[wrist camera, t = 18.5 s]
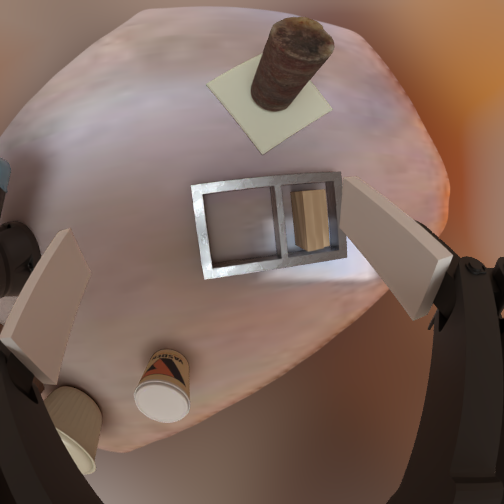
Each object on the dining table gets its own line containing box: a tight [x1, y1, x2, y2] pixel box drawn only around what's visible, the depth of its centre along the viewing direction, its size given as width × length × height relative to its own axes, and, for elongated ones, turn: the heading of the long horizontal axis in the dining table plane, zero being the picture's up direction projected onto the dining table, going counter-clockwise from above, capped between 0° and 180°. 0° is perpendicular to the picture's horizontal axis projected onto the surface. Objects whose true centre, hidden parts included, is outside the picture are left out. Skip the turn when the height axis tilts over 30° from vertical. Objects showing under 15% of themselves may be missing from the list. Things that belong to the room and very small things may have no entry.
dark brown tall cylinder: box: [251, 17, 334, 112], centre depth 31 cm, size 8×7×20 cm
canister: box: [43, 386, 102, 474], centre depth 37 cm, size 18×18×21 cm
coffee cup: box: [134, 349, 190, 423], centre depth 42 cm, size 9×9×12 cm
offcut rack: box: [191, 172, 347, 279], centre depth 43 cm, size 24×14×4 cm, turn 97°
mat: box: [206, 53, 333, 155], centre depth 41 cm, size 16×16×1 cm
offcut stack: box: [290, 189, 330, 251], centre depth 43 cm, size 4×9×6 cm, turn 7°
